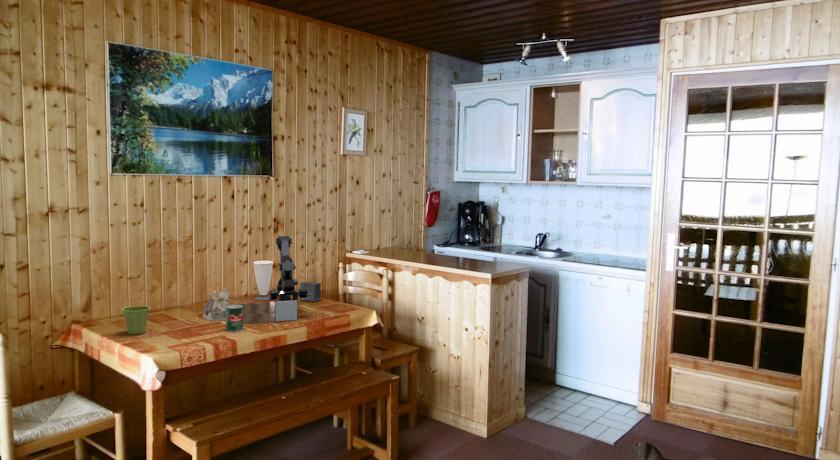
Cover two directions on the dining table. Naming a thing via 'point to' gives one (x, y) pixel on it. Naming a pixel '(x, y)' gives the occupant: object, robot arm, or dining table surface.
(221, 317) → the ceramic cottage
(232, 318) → the canned tomato
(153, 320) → the dining table surface
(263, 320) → the walnut leaf
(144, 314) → the plant pot
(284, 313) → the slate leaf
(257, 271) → the cup
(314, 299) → the small box
